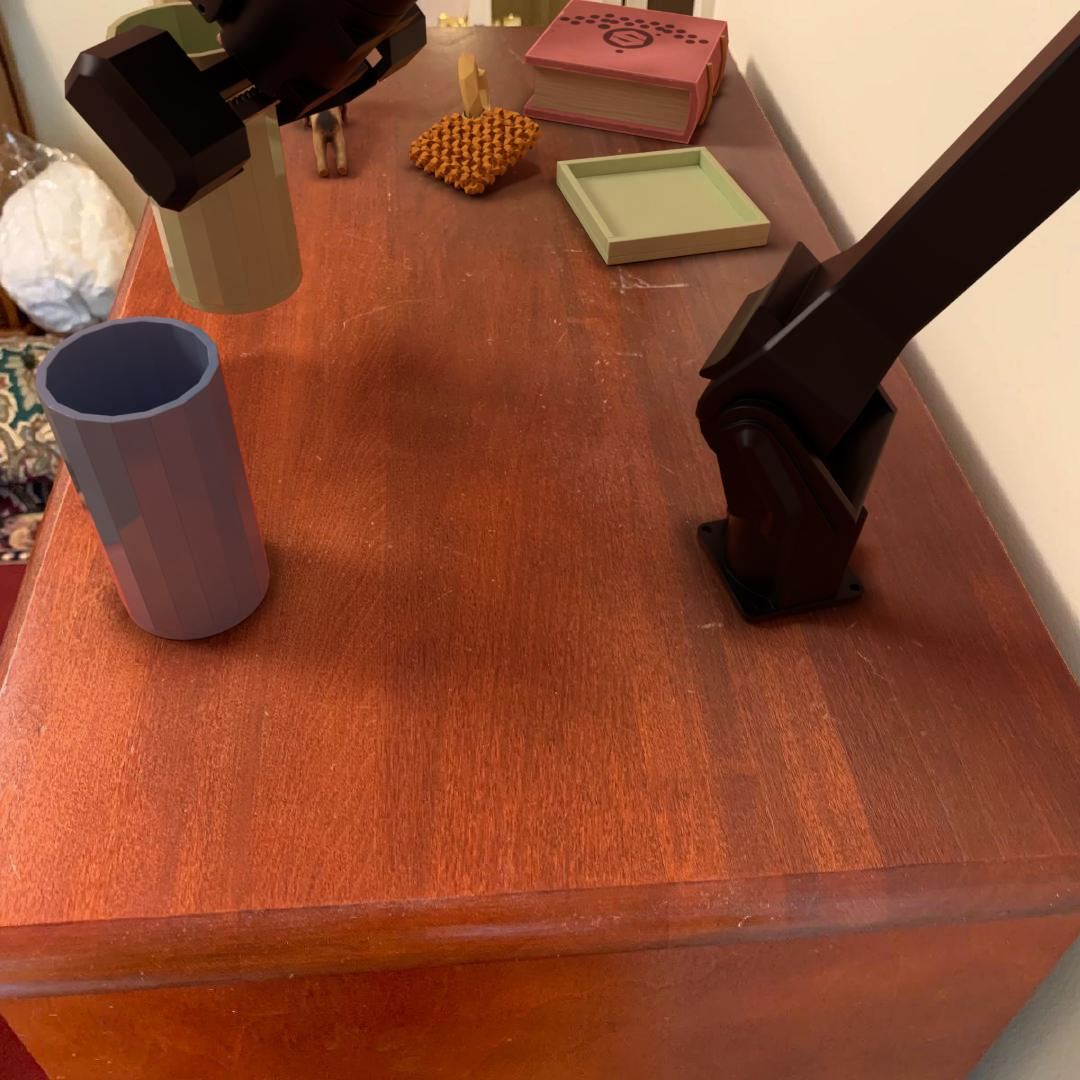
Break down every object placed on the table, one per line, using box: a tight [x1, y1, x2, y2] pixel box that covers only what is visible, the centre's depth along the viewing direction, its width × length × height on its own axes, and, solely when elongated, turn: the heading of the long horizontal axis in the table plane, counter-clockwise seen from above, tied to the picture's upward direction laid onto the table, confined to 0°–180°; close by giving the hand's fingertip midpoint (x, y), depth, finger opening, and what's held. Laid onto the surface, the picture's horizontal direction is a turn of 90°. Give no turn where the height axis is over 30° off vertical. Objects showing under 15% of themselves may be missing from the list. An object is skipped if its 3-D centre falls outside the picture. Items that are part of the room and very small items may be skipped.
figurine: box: [302, 103, 349, 178], centre depth 81 cm, size 4×4×15 cm
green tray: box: [555, 146, 772, 266], centre depth 75 cm, size 12×12×2 cm
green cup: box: [105, 0, 304, 316], centre depth 50 cm, size 7×7×13 cm
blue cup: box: [34, 315, 271, 641], centre depth 44 cm, size 7×7×13 cm
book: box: [522, 0, 730, 145], centre depth 88 cm, size 14×15×5 cm
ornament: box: [408, 52, 542, 195], centre depth 79 cm, size 7×10×15 cm
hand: (192, 156), depth 51 cm, fingers closed on green cup, 7 cm apart
